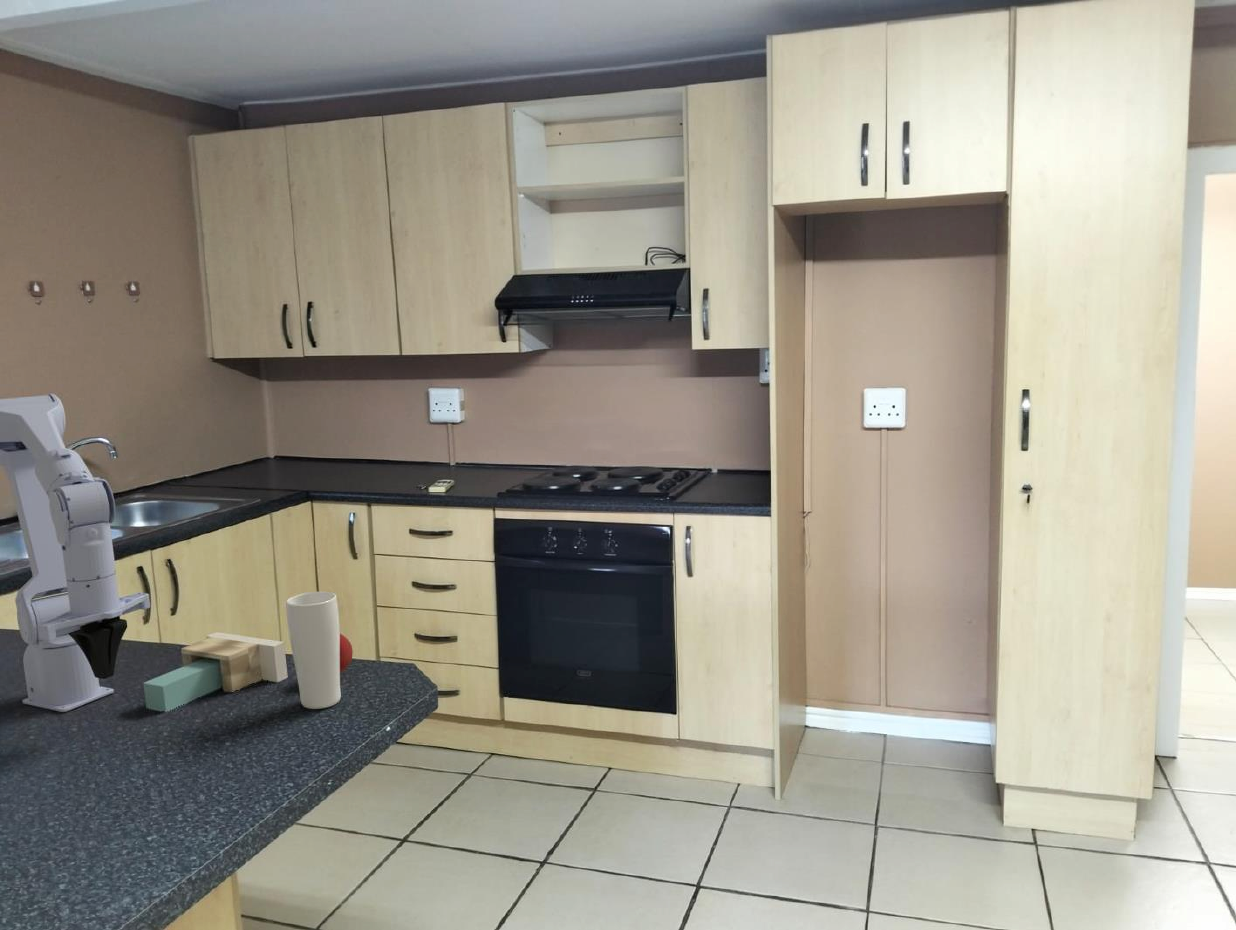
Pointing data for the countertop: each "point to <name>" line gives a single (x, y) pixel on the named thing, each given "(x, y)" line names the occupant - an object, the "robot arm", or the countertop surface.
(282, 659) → the wall
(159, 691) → the mint green rectangular prism
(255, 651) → the block
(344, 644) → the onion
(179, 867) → the countertop surface
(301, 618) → the drinking glass
